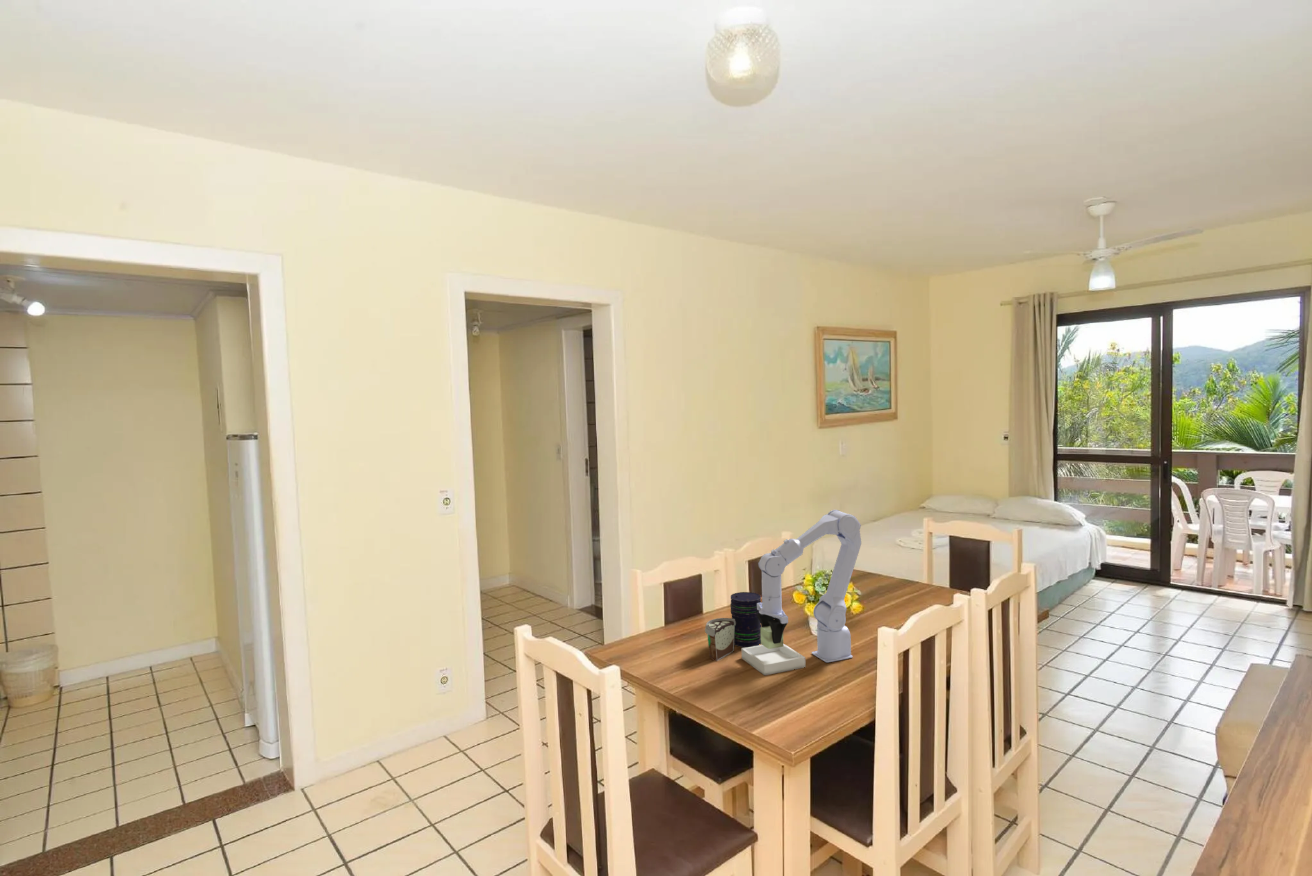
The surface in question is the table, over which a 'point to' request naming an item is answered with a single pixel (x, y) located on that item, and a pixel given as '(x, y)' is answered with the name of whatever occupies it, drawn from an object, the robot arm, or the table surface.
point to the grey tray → (773, 659)
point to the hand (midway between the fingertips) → (772, 640)
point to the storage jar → (746, 619)
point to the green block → (769, 638)
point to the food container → (720, 637)
